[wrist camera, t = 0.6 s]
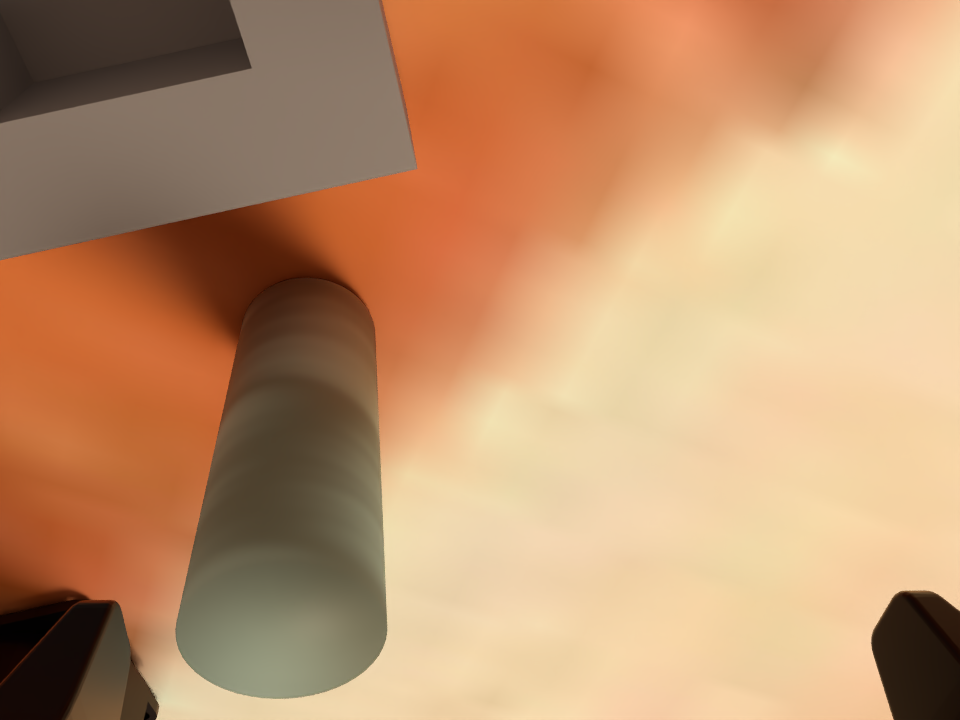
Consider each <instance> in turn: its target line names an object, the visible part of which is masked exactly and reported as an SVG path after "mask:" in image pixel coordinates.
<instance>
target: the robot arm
mask: <svg viewBox="0 0 960 720" xmlns="http://www.w3.org/2000/svg"><path fill="white" fill-rule="evenodd" d="M871 644H872V651H873V655H874V658H875V662H876V665H877V668H878V671H879V674H880V678H881V681H882V684H883V687H884V691H885V694H886V697H887V700H888V703H889V707H890V710H891V713H892V716H893V719H894V720H960V611H959V610H958V609H956V608H955V607H954V606H952V605H951V604H950V603H949V602H947V601H946V600H945V599H943V598H942V597H941V596H939V595H938V594H936V593H934V592H931V591H900V592H899V593H897V594H895V595H894V597H893V598H892V600H891V601H890V603H889V605H888V606H887V608H886V610H885V611H884V613H883V615H882V616H881V618H880V620H879V622H878V623H877V625H876V627H875V628H874V630H873V633H872V641H871ZM158 709H159V704H158V702H157V701H156V699H155V698H154V696H153V695H152V693H151V692H150V688H149V687H148V685H147V684H146V682H145V681H144V680H143V678H142V677H141V675H140V674H139V672H138V671H137V669H136V668H135V666H134V665H133V663H132V662H131V660H130V644H129V640H128V636H127V632H126V628H125V624H124V619H123V615H122V611H121V608H120V606H119V604H118V603H117V602H116V601H113V600H84V601H81V600H70V601H66V602H61V603H57V604H52V605H47V606H43V607H38V608H34V609H29V610H25V611H20V612H16V613H11V614H7V615H2V616H0V720H156V718H157V714H158Z"/></svg>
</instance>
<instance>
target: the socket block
mask: <svg viewBox="0 0 960 720" xmlns="http://www.w3.org/2000/svg"><path fill="white" fill-rule="evenodd" d="M415 169H417V164H416V158H415V153H414V147H413V142H412V136H411V130H410V125H409V119H408V114H407V108H406V104H405V100H404V95H403V91H402V86H401V82H400V78H399V73H398V69H397V65H396V60H395V56H394V52H393V47H392V43H391V38H390V34H389V30H388V25H387V21H386V17H385V12H384V8H383V3H382V0H0V260H3V259H8V258H13V257H17V256H22V255H26V254H31V253H35V252H40V251H45V250H49V249H54V248H58V247H63V246H67V245H72V244H77V243H81V242H86V241H90V240H95V239H99V238H104V237H109V236H113V235H118V234H122V233H127V232H131V231H136V230H140V229H145V228H150V227H154V226H159V225H163V224H168V223H172V222H177V221H182V220H186V219H191V218H195V217H200V216H204V215H209V214H214V213H218V212H223V211H227V210H232V209H236V208H241V207H246V206H250V205H255V204H259V203H264V202H268V201H273V200H278V199H282V198H287V197H291V196H296V195H300V194H305V193H310V192H314V191H319V190H323V189H328V188H332V187H337V186H342V185H346V184H351V183H355V182H360V181H364V180H369V179H374V178H378V177H383V176H387V175H392V174H396V173H401V172H406V171H410V170H415Z"/></svg>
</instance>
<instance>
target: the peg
mask: <svg viewBox="0 0 960 720" xmlns="http://www.w3.org/2000/svg"><path fill="white" fill-rule="evenodd" d="M386 635H387V612H386V587H385V562H384V538H383V513H382V489H381V464H380V439H379V415H378V390H377V365H376V341H375V327H374V323H373V320H372V317H371V315H370V313H369V311H368V309H367V308H366V306H365V305H364V304H363V302H362V301H361V300H360V299H359V298H358V297H357V296H356V295H354V294H353V293H352V292H351V291H349V290H347V289H346V288H344V287H342V286H340V285H338V284H336V283H333V282H330V281H327V280H323V279H317V278H296V279H289V280H286V281H282V282H279V283H277V284H275V285H272V286H271V287H269V288H267V289H266V290H264V291H263V292H262V293H260V294H259V295H258V296H257V297H256V298H255V299H254V300H253V302H252V303H251V304H250V306H249V307H248V309H247V311H246V313H245V316H244V319H243V322H242V327H241V331H240V336H239V341H238V345H237V350H236V354H235V359H234V363H233V368H232V372H231V377H230V382H229V386H228V391H227V395H226V400H225V404H224V409H223V413H222V418H221V422H220V427H219V432H218V436H217V441H216V445H215V450H214V454H213V459H212V463H211V468H210V473H209V477H208V482H207V486H206V491H205V495H204V500H203V504H202V509H201V513H200V518H199V523H198V527H197V532H196V536H195V541H194V545H193V550H192V554H191V559H190V564H189V568H188V573H187V577H186V582H185V586H184V591H183V595H182V600H181V605H180V609H179V614H178V618H177V623H176V641H177V645H178V649H179V651H180V653H181V655H182V657H183V658H184V660H185V661H186V662H187V664H188V665H189V666H190V667H191V668H192V669H193V670H194V671H195V672H196V673H197V674H199V675H200V676H201V677H203V678H204V679H206V680H207V681H209V682H211V683H213V684H214V685H216V686H219V687H221V688H223V689H226V690H229V691H232V692H235V693H238V694H242V695H247V696H252V697H259V698H272V699H286V698H298V697H305V696H310V695H315V694H319V693H322V692H326V691H329V690H331V689H334V688H337V687H339V686H341V685H343V684H345V683H347V682H349V681H351V680H352V679H354V678H356V677H357V676H359V675H360V674H361V673H363V672H364V671H365V670H366V669H367V668H368V667H369V666H370V665H371V664H372V663H373V662H374V661H375V660H376V658H377V657H378V656H379V654H380V652H381V650H382V648H383V646H384V643H385V640H386Z"/></svg>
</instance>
